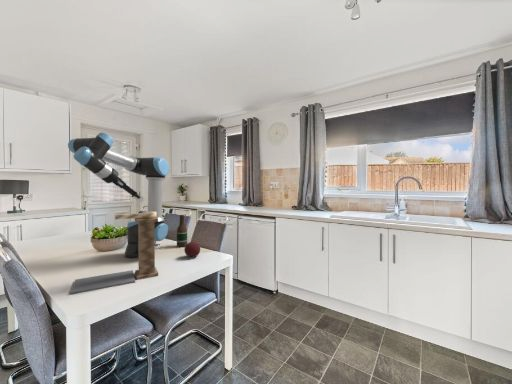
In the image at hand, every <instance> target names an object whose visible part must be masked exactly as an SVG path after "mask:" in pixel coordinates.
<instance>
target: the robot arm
mask: <svg viewBox="0 0 512 384" xmlns="http://www.w3.org/2000/svg"><path fill="white" fill-rule="evenodd" d="M114 141H115V140H114V138H112V136H111V135H109V134H107V133H106V132H99V133H98V134H96V135H95V137H85V138H81V137H79V138H73V139H70V140H68V143H67V148H68V149H69V150H68V151H70V152H71V153H73V155H72V156H73V159H74V160H75V161H76V162H77V163H78V164H80V165H81V166H83V167H84V168H86V169H87V170H88V171H90V172H91V173H92V174H93V175H95V176H96V177H98V178H100V179H101V180H102V181H103V182H105V183H106V184H111V183H112V184H113V185H115V186H117V187H119V189H122V190H124V191H125V192H126V193H128V194H129V195H130V196H131V198H135V199H136V200H137V201H138V202H140V203H143V202H144V201H145V200H146V199H145V198H144V196H142V195H140V194H139V193H138V192H137V191H135V190H134V189H133V188H132V187H131V186H128V184H127V183H126V182H125V181H124V180H123V179H122V178H121V177H119V171H117V170H116V169H115V168H113V167H112V166H111V165H110V164H112V165H115V166H118V167H120V168H124V169H125V171H129V172H132V173H134V174H137V175H142V176H145V179H146V180H147V182H148V184H147V212H151V211H152V212H156V218H158V222H154V223H155V241H156V242H161V241H164V239H166V237H167V235H168V231H169V226H168V224H166V223H165V219H164V218H163V186H164V185H163V184H164V183H163V182H164V180H165V179H166V176H168V175H169V172H170V165H169V162H168V161H167V159H165V158H163V157H157V156H156V157H135V156H133V155H130V156H129V155H126V154H124V153H121V152H119V151H117V150H114V149H111V148H112V146H113V144H114ZM126 226H127V227H126V231H127V233H126V234H127V238H126V239H127V244H126V248H125V251H124V257H125V258H127V259H136V258H137V259H139V253H138V223H136V222H135V220H132V221H128V222H127V224H126Z"/></svg>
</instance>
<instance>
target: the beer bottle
mask: <svg viewBox="0 0 512 384" xmlns="http://www.w3.org/2000/svg"><path fill="white" fill-rule="evenodd" d="M185 223H186V222H185V214H180V215H179V223H178V226H177V229H176V247H177V248H180V247H182V248H185V246H186V245H187V244H188V229H187V227H186V225H185Z"/></svg>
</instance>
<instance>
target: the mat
mask: <svg viewBox="0 0 512 384" xmlns="http://www.w3.org/2000/svg"><path fill="white" fill-rule="evenodd" d="M135 277H136V276H135V274H134V270H133V269H131V270H126V271H120V272H119V271H118V272H113V273H107V274H101V275H94V276H88V277H83V278H77V279H75V280H74V282H73V285H72V288H71V290H70V295H75V294H80V293H85V292H90V291H97V290H102V289H108V288H112V287H118V286H123V285H128V284H134V283H136V278H135Z"/></svg>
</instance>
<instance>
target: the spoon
mask: <svg viewBox="0 0 512 384" xmlns="http://www.w3.org/2000/svg"><path fill="white" fill-rule="evenodd" d="M135 218H142V219H154V218H156V212H152V211H151V212H148V211H141V213H124V214H123V213H122V214H114V220H127V219H135Z"/></svg>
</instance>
